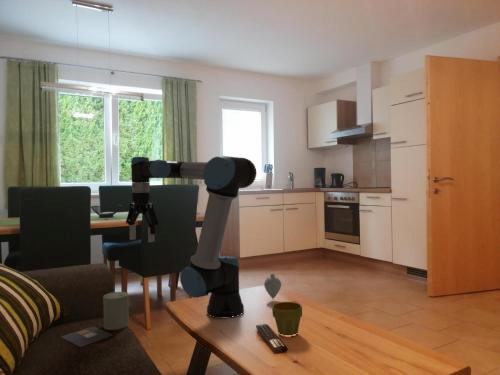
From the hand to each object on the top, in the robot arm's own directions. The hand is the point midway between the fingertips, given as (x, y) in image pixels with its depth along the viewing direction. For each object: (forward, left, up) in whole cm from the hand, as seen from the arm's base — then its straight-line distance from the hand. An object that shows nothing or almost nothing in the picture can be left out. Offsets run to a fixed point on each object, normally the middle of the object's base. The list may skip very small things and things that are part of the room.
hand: (142, 240), depth 164 cm
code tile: (-12, +32, -29) cm, 45 cm away
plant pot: (-68, -11, -29) cm, 75 cm away
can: (-11, +20, -29) cm, 37 cm away
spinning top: (-42, -39, -29) cm, 64 cm away
